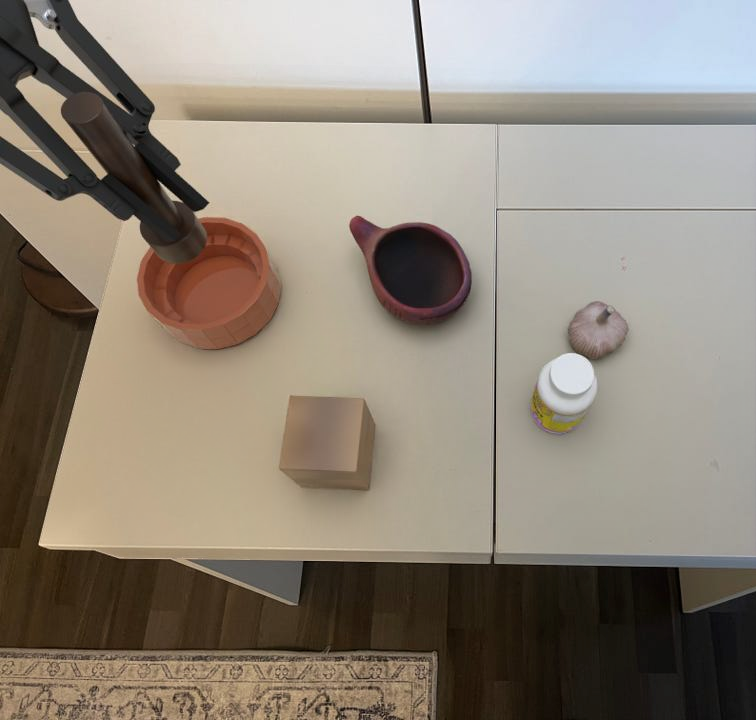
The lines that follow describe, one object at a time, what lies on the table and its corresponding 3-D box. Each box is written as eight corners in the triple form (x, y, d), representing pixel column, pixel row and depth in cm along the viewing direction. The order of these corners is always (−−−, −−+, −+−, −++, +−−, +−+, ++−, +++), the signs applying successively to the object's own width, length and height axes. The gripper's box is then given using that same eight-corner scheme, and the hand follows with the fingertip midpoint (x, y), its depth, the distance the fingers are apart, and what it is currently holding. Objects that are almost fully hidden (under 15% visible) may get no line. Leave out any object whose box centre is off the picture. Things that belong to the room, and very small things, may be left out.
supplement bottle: (530, 382, 82) (541, 341, 70) (582, 385, 82) (603, 344, 70) (529, 434, 80) (540, 401, 68) (583, 436, 80) (605, 404, 68)
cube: (300, 487, 77) (278, 468, 67) (309, 421, 80) (289, 395, 70) (369, 490, 77) (356, 472, 67) (375, 424, 80) (364, 398, 70)
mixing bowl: (192, 373, 82) (170, 353, 76) (140, 281, 86) (116, 256, 80) (303, 310, 85) (291, 287, 79) (248, 225, 90) (232, 197, 84)
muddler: (167, 272, 59) (60, 146, 44) (145, 234, 61) (34, 99, 45) (216, 247, 60) (128, 115, 45) (193, 210, 62) (101, 70, 46)
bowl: (477, 255, 89) (478, 221, 82) (465, 341, 84) (465, 313, 77) (359, 242, 89) (350, 207, 82) (341, 327, 84) (330, 298, 77)
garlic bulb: (624, 314, 86) (639, 285, 79) (623, 366, 83) (639, 341, 76) (567, 309, 86) (576, 279, 79) (564, 360, 83) (574, 334, 76)
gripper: (-24, -86, 47) (234, 163, 60) (-214, 54, 42) (112, 295, 55) (-21, -140, 41) (264, 149, 54) (-241, 16, 36) (131, 295, 49)
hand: (187, 222), depth 54 cm, fingers closed on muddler, 3 cm apart
